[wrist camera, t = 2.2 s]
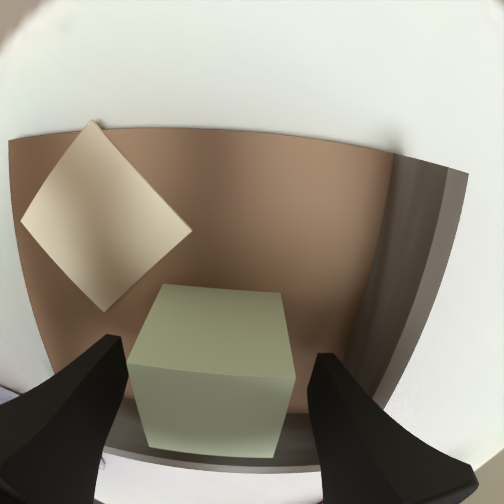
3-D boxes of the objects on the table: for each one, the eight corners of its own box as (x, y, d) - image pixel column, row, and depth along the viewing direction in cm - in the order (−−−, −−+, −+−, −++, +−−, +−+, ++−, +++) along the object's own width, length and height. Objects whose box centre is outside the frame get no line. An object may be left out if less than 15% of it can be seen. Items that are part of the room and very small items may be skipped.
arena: (65, 383, 15) (40, 431, 11) (17, 130, 9) (-49, 141, 6) (331, 412, 16) (345, 468, 12) (406, 146, 10) (470, 160, 6)
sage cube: (169, 368, 13) (149, 446, 9) (163, 283, 11) (126, 362, 7) (267, 375, 13) (272, 457, 9) (280, 292, 12) (295, 377, 8)
